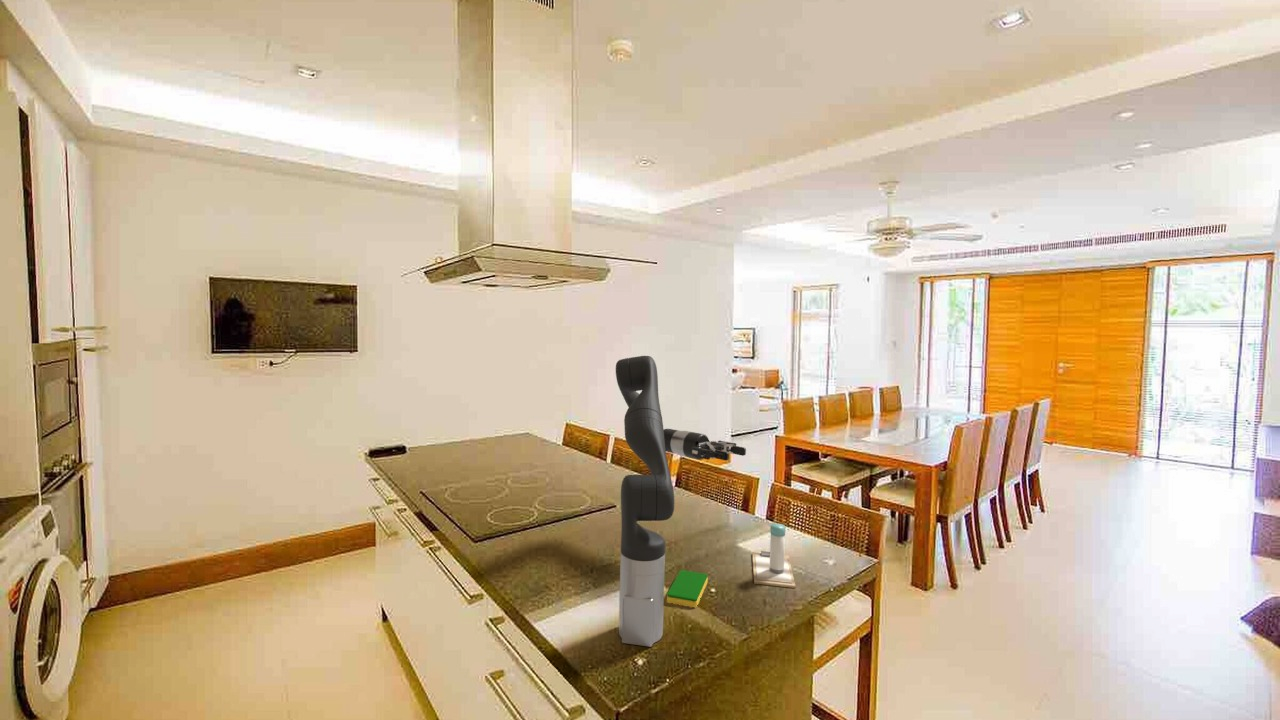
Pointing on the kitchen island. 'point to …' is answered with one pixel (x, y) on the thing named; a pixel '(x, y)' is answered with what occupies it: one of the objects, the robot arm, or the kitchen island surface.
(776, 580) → the clipboard
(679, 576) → the dish sponge
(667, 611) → the kitchen island surface
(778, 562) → the bottle
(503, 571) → the kitchen island surface
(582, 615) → the kitchen island surface
